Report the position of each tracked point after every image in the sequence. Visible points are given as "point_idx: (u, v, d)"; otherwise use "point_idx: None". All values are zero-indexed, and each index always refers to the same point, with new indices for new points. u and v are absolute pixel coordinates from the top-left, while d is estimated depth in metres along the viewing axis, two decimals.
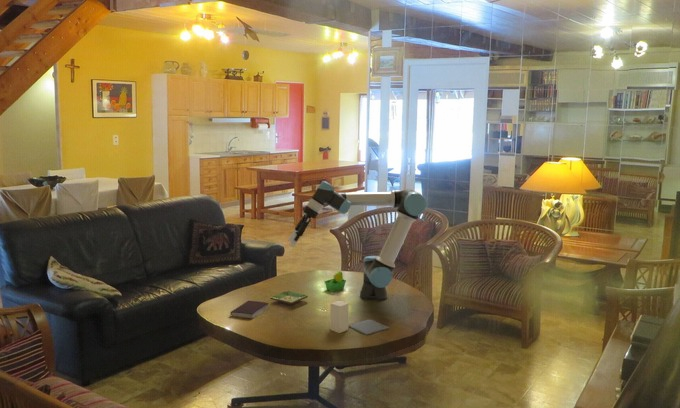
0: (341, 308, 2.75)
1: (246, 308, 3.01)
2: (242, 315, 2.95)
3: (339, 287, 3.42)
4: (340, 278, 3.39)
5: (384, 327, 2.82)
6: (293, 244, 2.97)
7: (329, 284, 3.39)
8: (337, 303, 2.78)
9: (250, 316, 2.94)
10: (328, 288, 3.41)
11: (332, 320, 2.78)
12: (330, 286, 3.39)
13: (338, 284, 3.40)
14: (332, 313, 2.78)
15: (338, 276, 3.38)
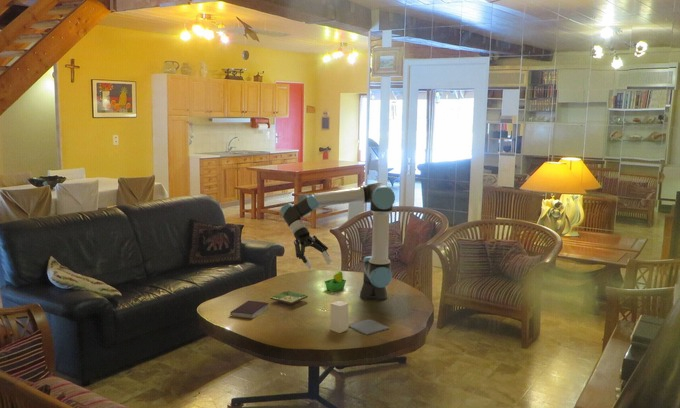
0: (341, 308, 2.75)
1: (246, 308, 3.01)
2: (242, 315, 2.95)
3: (339, 287, 3.42)
4: (340, 278, 3.39)
5: (384, 327, 2.82)
6: (309, 265, 2.87)
7: (329, 284, 3.39)
8: (337, 303, 2.78)
9: (250, 316, 2.94)
10: (328, 288, 3.41)
11: (332, 320, 2.78)
12: (330, 286, 3.39)
13: (338, 284, 3.40)
14: (332, 313, 2.78)
15: (338, 276, 3.38)
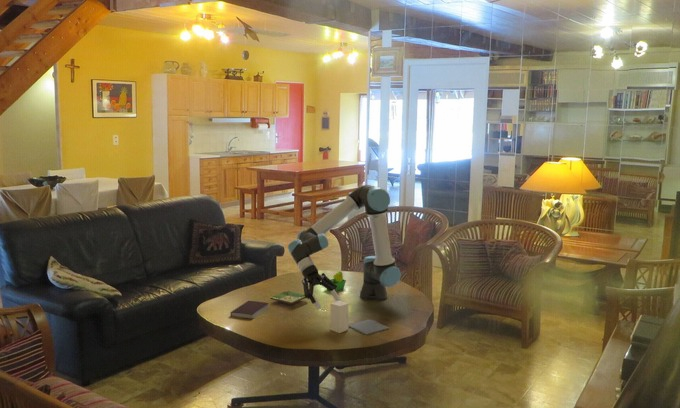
0: (341, 308, 2.75)
1: (246, 308, 3.01)
2: (242, 315, 2.95)
3: (339, 287, 3.42)
4: (340, 278, 3.39)
5: (384, 327, 2.82)
6: (317, 306, 2.76)
7: None
8: (337, 303, 2.78)
9: (250, 316, 2.93)
10: None
11: (332, 320, 2.78)
12: None
13: (338, 284, 3.40)
14: (332, 313, 2.78)
15: (338, 276, 3.38)
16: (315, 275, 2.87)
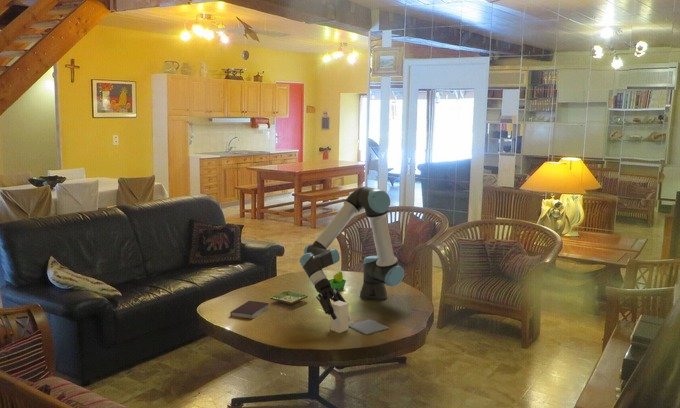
0: (341, 308, 2.75)
1: (246, 308, 3.01)
2: (242, 315, 2.95)
3: (339, 287, 3.42)
4: (340, 278, 3.39)
5: (384, 327, 2.82)
6: (338, 322, 2.75)
7: None
8: (337, 303, 2.78)
9: (250, 316, 2.93)
10: None
11: (332, 320, 2.78)
12: None
13: (338, 284, 3.40)
14: None
15: (338, 276, 3.38)
16: (328, 287, 2.84)
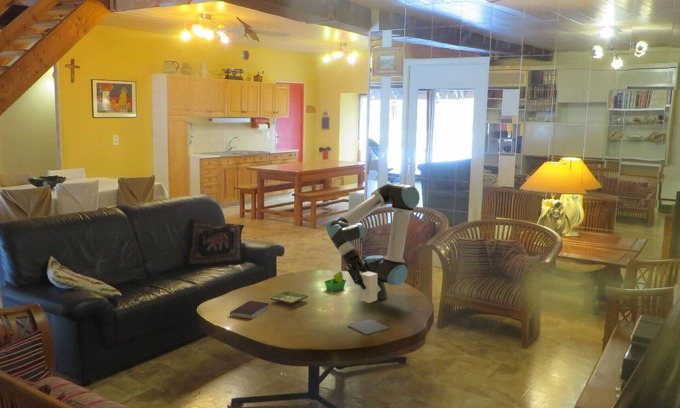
0: (370, 278, 2.76)
1: (246, 308, 3.01)
2: (241, 315, 2.95)
3: (339, 287, 3.42)
4: (340, 278, 3.39)
5: (384, 327, 2.82)
6: (368, 292, 2.76)
7: (329, 284, 3.39)
8: (366, 273, 2.79)
9: (249, 316, 2.93)
10: (328, 288, 3.41)
11: (361, 290, 2.79)
12: (330, 286, 3.39)
13: (338, 284, 3.40)
14: None
15: (338, 276, 3.38)
16: (356, 258, 2.85)
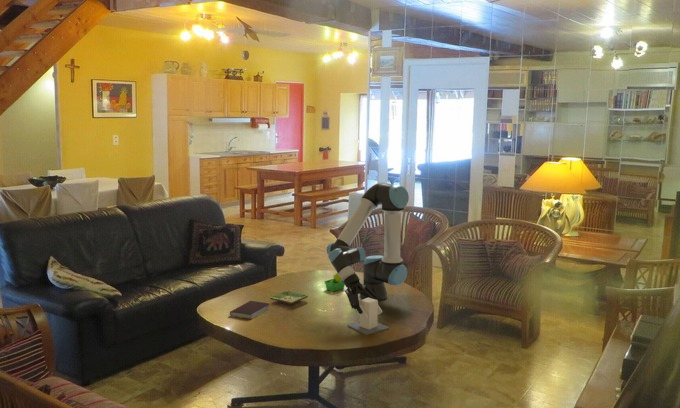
0: (371, 305, 2.78)
1: (246, 308, 3.01)
2: (241, 315, 2.95)
3: (339, 287, 3.42)
4: (340, 278, 3.39)
5: (384, 327, 2.82)
6: (365, 316, 2.76)
7: (329, 284, 3.39)
8: (366, 300, 2.81)
9: (249, 316, 2.93)
10: (328, 288, 3.41)
11: (361, 317, 2.81)
12: (330, 286, 3.39)
13: (338, 284, 3.40)
14: None
15: (338, 276, 3.38)
16: (357, 283, 2.87)
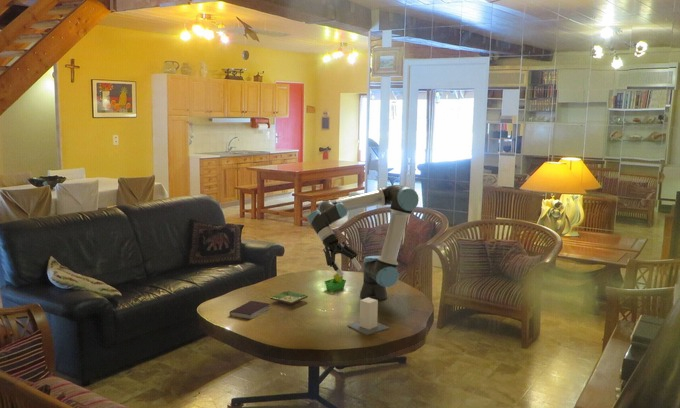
0: (371, 305, 2.78)
1: (246, 308, 3.01)
2: (241, 315, 2.95)
3: (339, 287, 3.42)
4: (340, 278, 3.39)
5: (384, 327, 2.82)
6: (340, 272, 2.82)
7: (329, 284, 3.39)
8: (366, 300, 2.81)
9: (248, 317, 2.93)
10: (328, 288, 3.41)
11: (361, 317, 2.81)
12: (330, 286, 3.39)
13: (338, 284, 3.40)
14: (361, 310, 2.81)
15: (338, 276, 3.38)
16: (336, 244, 2.93)
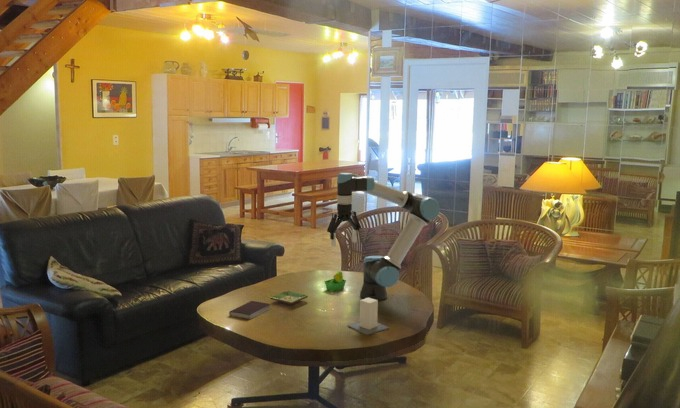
0: (371, 305, 2.78)
1: (246, 308, 3.01)
2: (240, 315, 2.95)
3: (339, 287, 3.42)
4: (340, 278, 3.39)
5: (384, 327, 2.82)
6: (333, 243, 3.00)
7: (329, 284, 3.39)
8: (366, 300, 2.81)
9: (248, 317, 2.93)
10: (328, 288, 3.41)
11: (361, 317, 2.81)
12: (330, 286, 3.39)
13: (338, 284, 3.40)
14: (361, 310, 2.81)
15: (338, 276, 3.38)
16: (347, 213, 3.02)
